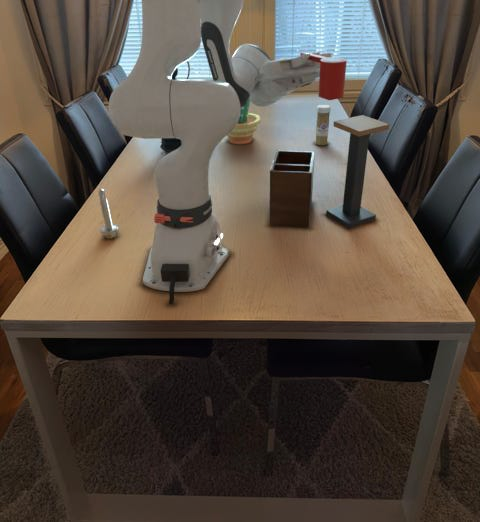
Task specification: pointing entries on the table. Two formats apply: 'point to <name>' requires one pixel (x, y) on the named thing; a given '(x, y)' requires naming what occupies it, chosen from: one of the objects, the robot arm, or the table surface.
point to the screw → (107, 218)
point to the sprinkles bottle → (322, 124)
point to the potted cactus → (244, 126)
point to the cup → (330, 76)
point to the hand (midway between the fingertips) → (313, 55)
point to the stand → (355, 170)
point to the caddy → (291, 188)
